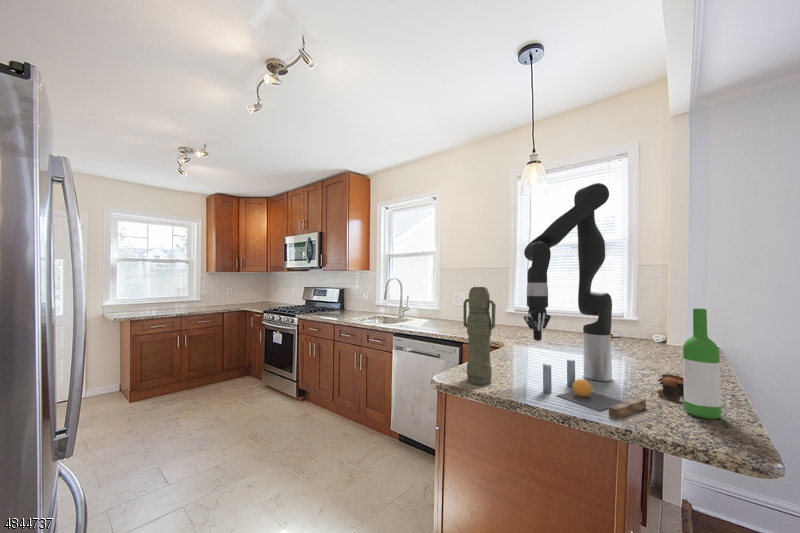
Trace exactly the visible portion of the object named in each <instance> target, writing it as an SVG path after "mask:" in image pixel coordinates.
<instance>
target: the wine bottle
mask: <svg viewBox="0 0 800 533" xmlns="http://www.w3.org/2000/svg"><path fill="white" fill-rule="evenodd" d="M707 314H708V312H707V309H706V308H692V336H691V337H688V338H687V339H686V340H685V342H684V343H683V346H682V369H683V371H682V372H683V375H682V376H683V379H684V399H683V407H684V410H685V411H686V413H688V414H690V415H692V416H695V417H698V418H703V419H708V420H717V419H719V418H720V417H721V416H722V397H721V396H722V395H721V394H722V393H721V392H722V390H721V387H722V386H721V360H720V349H719V347H718V346H717V344H716V343H715V342H714V341H713V340H712V339H711V338H709V336H708V315H707Z"/></svg>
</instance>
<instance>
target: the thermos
mask: <svg viewBox="0 0 800 533" xmlns="http://www.w3.org/2000/svg"><path fill="white" fill-rule="evenodd" d="M490 298H491V297H490V292H489V290H488V288H486V287H484V286H473V287H471V288H470V289H469V293H468V298H466V299H465V300H463V326H464V327H465V328H466V334H467V337H468V339H467V340H468V342H467V343H468V346H467V348H468V352H467V354H468V355H467V357H468V359H467V360H468V361H467V363H466V375H467V380H466V381H467V383H469V384H471V385H475V386H482V387H483V386H490V385H491V383H492V374H493V373H492V372H493V369H492V367H493V366H492V363H491V335H492V330H493V329H494V328H495V327H496V310H497V308H496V303H495V301H494V300H492V299H490ZM467 303H468V309H469V310H468V316H467ZM490 304H491V305H490ZM490 308H491V312H490ZM490 313H491V314H490ZM490 315H491V316H490Z"/></svg>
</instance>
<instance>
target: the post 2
mask: <svg viewBox="0 0 800 533" xmlns="http://www.w3.org/2000/svg"><path fill="white" fill-rule="evenodd" d="M575 381H576V360H574V359H566V386H567V387H570V388H572V386H573V383H574V382H575Z"/></svg>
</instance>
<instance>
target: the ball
mask: <svg viewBox="0 0 800 533" xmlns="http://www.w3.org/2000/svg"><path fill="white" fill-rule="evenodd" d="M571 388H572V390H573V391H574V393H575V394H576V395H577V396H579V397H588V396H589V395H590V394H591V392H593V391H592V390H593V388H592V385H591V383H589V382H588V381H587V380H585V379H580V378H579V379H577V380H576V379H575V382H574V383H573V386H572V387H571Z"/></svg>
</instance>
